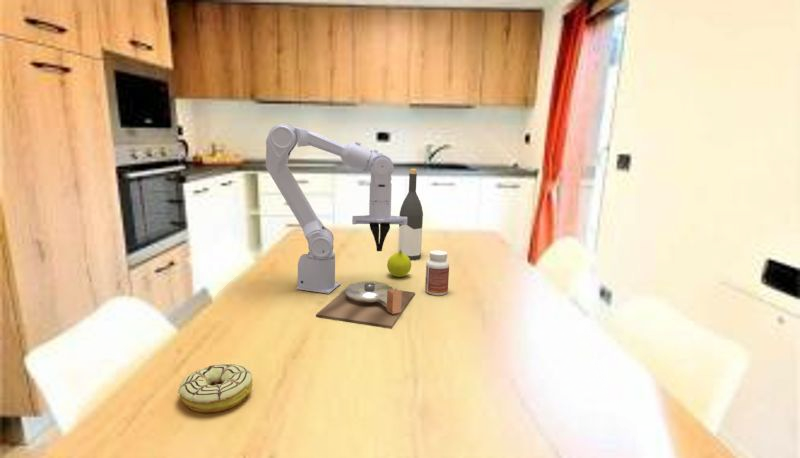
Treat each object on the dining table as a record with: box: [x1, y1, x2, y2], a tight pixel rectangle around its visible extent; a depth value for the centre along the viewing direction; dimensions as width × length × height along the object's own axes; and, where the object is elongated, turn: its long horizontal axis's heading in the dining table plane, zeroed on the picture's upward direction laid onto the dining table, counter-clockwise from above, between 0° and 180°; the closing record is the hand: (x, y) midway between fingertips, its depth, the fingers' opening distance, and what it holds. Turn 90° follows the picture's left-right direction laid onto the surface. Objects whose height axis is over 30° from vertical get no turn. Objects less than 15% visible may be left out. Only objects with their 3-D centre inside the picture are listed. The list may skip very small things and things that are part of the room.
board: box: [315, 288, 416, 329], centre depth 110 cm, size 18×22×2 cm
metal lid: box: [344, 281, 402, 314], centre depth 110 cm, size 18×12×5 cm, turn 35°
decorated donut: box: [177, 363, 253, 414], centre depth 71 cm, size 10×11×4 cm
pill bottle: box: [424, 249, 450, 296], centre depth 120 cm, size 6×6×11 cm
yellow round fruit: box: [386, 248, 412, 278], centre depth 132 cm, size 7×7×10 cm
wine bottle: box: [397, 168, 424, 261], centre depth 150 cm, size 8×8×30 cm
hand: (379, 250), depth 121 cm, fingers closed
